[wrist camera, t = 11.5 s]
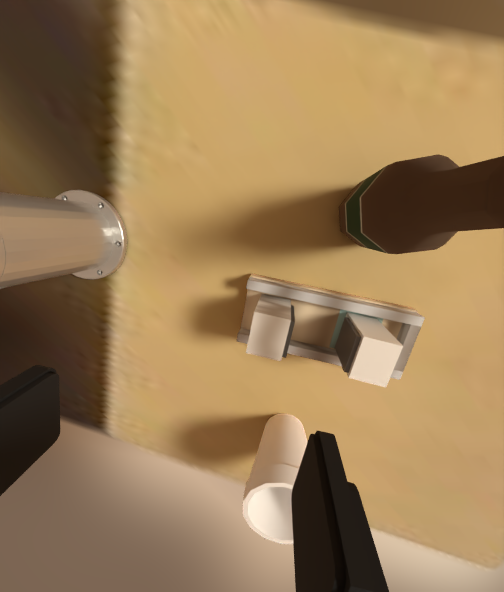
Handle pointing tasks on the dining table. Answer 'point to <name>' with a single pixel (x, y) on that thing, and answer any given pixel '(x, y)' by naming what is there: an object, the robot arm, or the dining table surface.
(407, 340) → the finger rail
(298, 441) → the foam cup
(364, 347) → the white foam block
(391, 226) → the beer bottle
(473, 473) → the dining table surface
